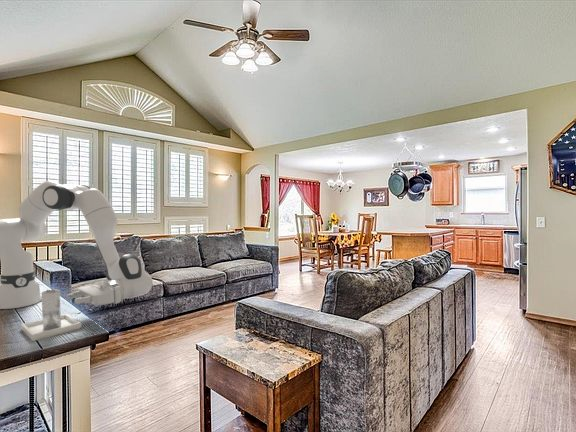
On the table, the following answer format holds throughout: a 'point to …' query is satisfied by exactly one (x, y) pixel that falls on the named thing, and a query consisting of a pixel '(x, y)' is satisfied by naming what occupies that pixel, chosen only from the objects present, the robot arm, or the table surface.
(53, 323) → the metal cup with balls
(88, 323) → the table surface
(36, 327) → the cream tray
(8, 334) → the table surface
